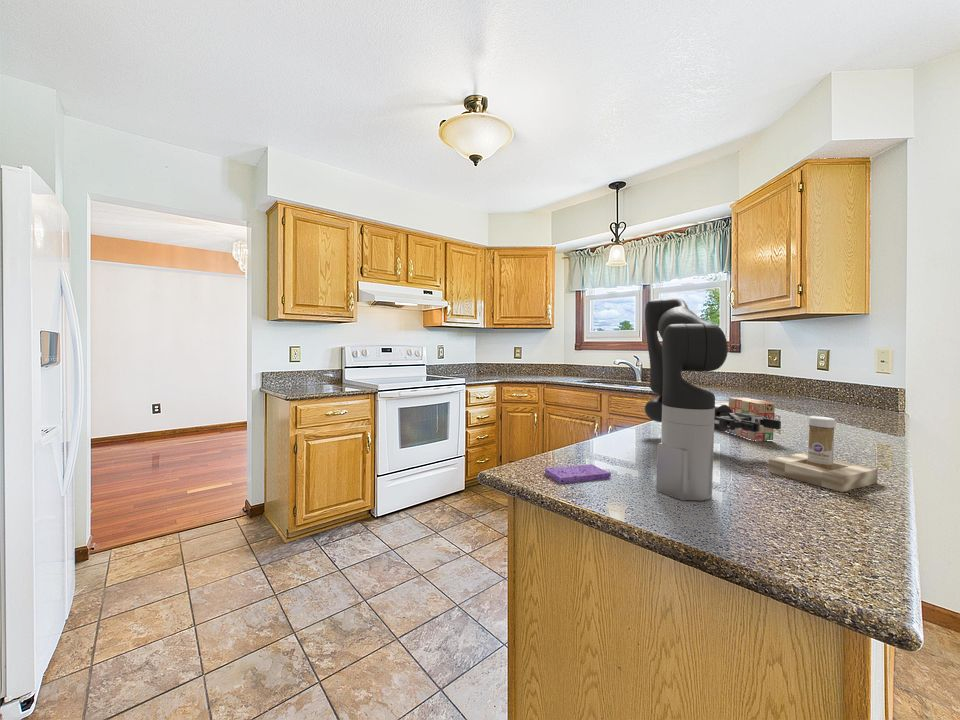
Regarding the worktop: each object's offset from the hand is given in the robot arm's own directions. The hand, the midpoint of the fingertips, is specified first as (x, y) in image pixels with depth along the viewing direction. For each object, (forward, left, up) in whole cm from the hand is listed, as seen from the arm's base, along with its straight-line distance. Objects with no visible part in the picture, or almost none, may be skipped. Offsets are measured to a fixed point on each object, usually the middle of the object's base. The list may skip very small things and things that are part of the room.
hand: (769, 426), depth 100 cm
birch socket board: (0, -11, -9) cm, 14 cm away
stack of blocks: (+27, +25, -10) cm, 38 cm away
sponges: (-50, +11, -10) cm, 52 cm away
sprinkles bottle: (0, -11, -9) cm, 14 cm away
